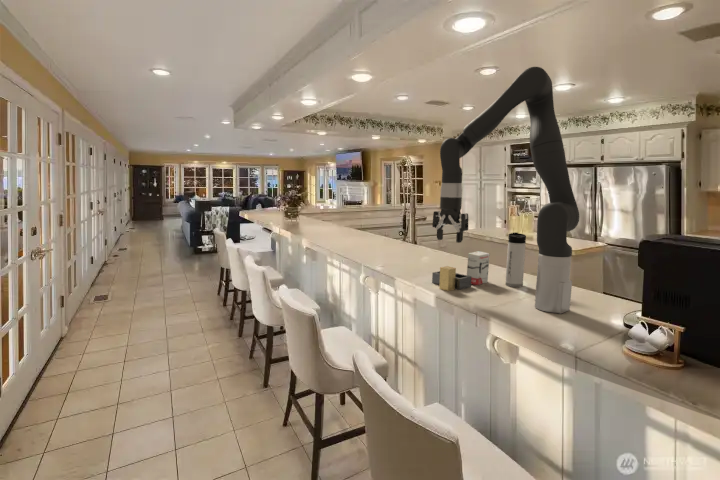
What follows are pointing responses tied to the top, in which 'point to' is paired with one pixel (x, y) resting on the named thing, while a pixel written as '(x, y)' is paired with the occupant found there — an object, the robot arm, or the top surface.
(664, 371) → the top surface
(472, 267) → the ink box
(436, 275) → the grey hollow block
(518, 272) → the travel mug
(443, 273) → the tan wooden block
